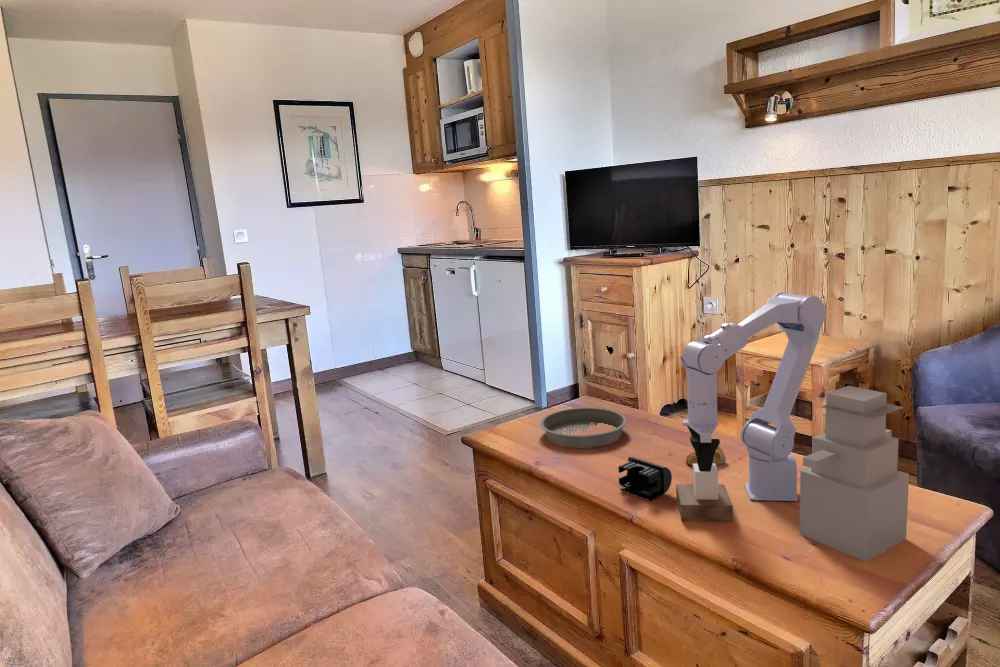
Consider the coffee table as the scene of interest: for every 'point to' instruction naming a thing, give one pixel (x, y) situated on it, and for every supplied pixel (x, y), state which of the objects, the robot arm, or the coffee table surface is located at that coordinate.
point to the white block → (705, 483)
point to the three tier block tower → (854, 478)
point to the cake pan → (582, 426)
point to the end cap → (644, 479)
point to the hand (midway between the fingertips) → (703, 463)
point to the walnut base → (703, 505)
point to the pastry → (718, 458)
